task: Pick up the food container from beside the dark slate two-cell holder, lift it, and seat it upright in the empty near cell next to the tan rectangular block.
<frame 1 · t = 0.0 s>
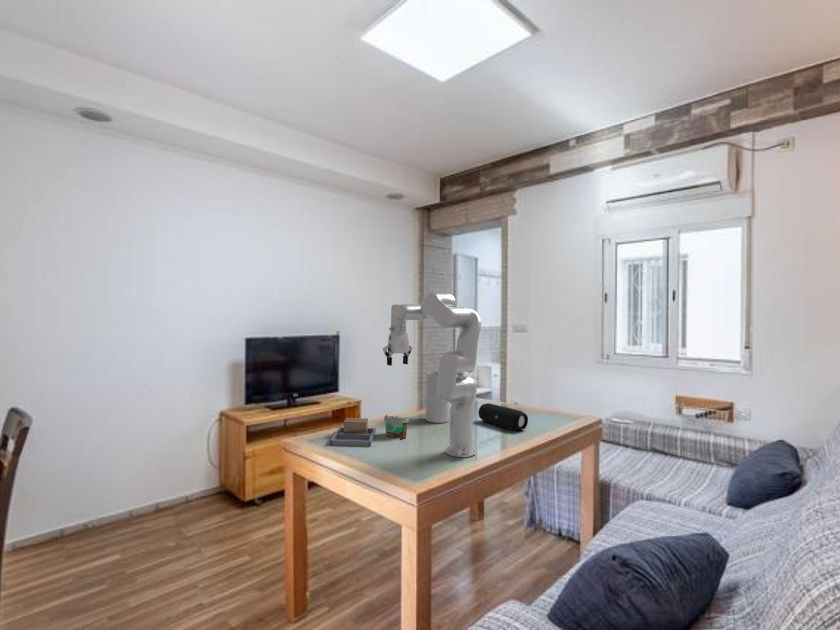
hand: (397, 364, 221), 31 cm above the table, tool pointing down, fingers open, 9 cm apart
tan rectangular block: (355, 435, 204), point 1 cm above the table, touching cell holder
cell holder: (353, 440, 199), on the table
portable speaker: (502, 426, 232), on the table
food container: (393, 439, 204), on the table
cylinder vase: (437, 420, 239), on the table
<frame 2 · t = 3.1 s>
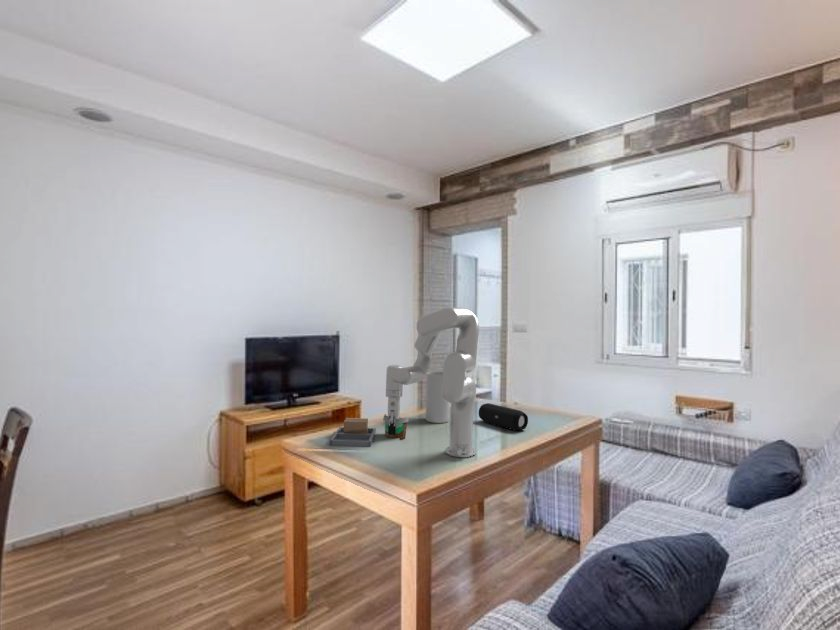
hand: (392, 431, 204), 3 cm above the table, tool pointing down, fingers closed on food container, 6 cm apart
food container: (392, 439, 204), on the table, touching gripper
everything else where it was.
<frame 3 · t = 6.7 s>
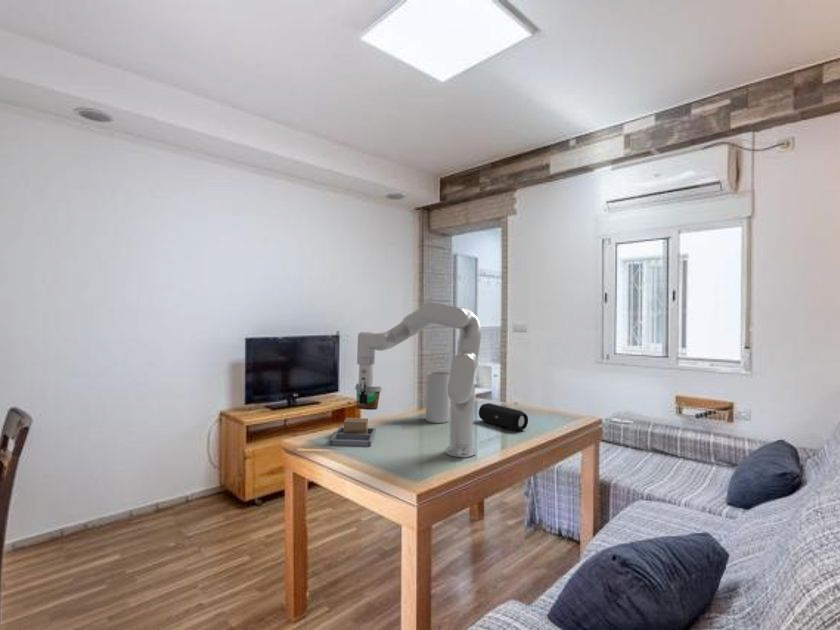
hand: (364, 401, 197), 18 cm above the table, tool pointing down, fingers closed on food container, 6 cm apart
food container: (364, 409, 196), point 15 cm above the table, touching gripper
everything else where it was.
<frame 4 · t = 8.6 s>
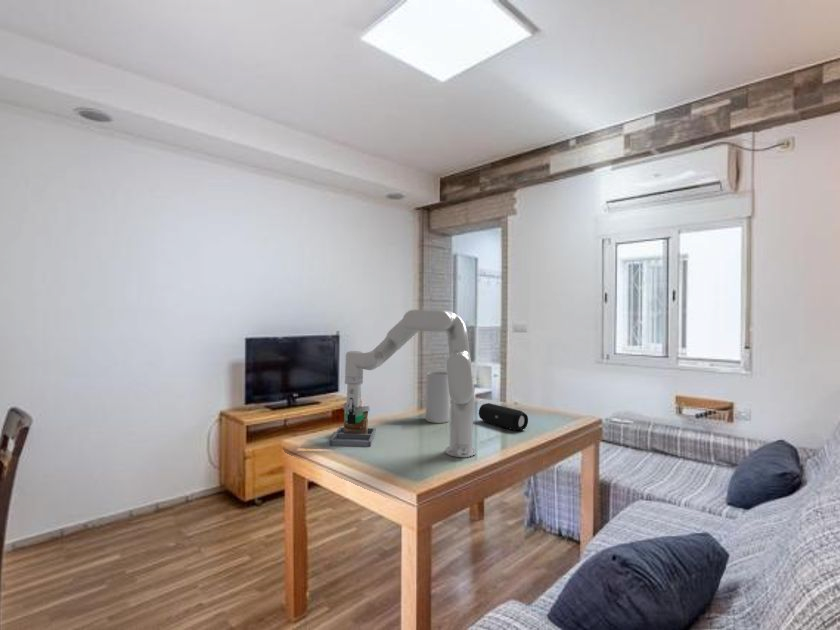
hand: (352, 421, 194), 10 cm above the table, tool pointing down, fingers closed on food container, 6 cm apart
food container: (352, 429, 193), point 7 cm above the table, touching gripper
everything else where it was.
when the fingers open (4 cm above the table, at t = 10.1 s): food container stays where it is, resting on cell holder.
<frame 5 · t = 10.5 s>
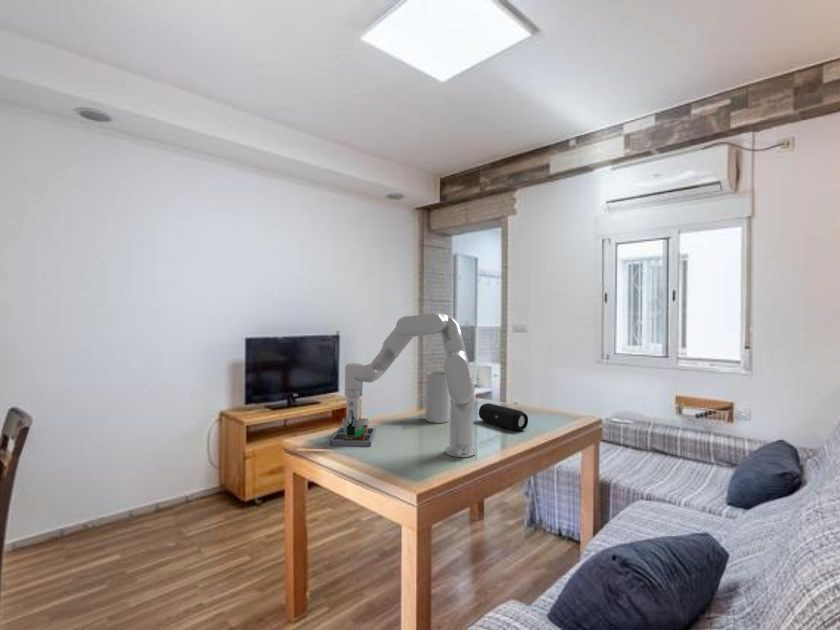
hand: (352, 432, 194), 5 cm above the table, tool pointing down, fingers open, 9 cm apart
food container: (352, 443, 193), point 1 cm above the table, touching cell holder, gripper
everything else where it was.
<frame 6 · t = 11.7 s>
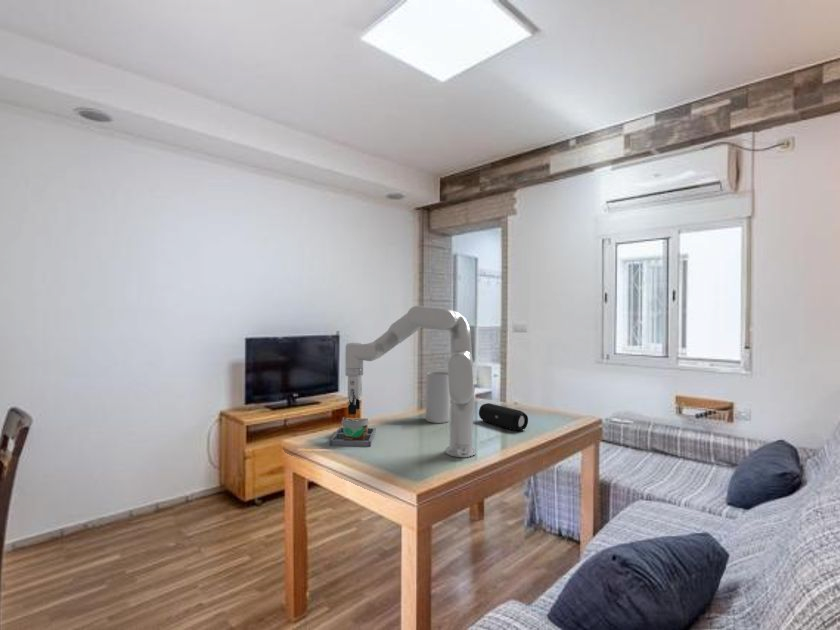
hand: (354, 411, 194), 14 cm above the table, tool pointing down, fingers open, 9 cm apart
food container: (352, 443, 193), point 1 cm above the table, touching cell holder
everything else where it was.
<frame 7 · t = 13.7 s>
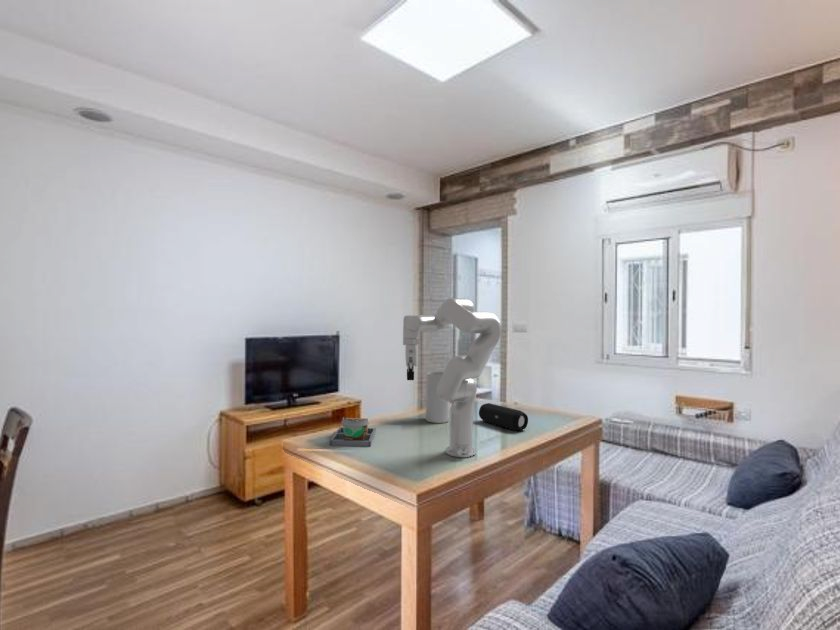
hand: (410, 378, 211), 26 cm above the table, tool pointing down, fingers open, 9 cm apart
nothing on the table moved.
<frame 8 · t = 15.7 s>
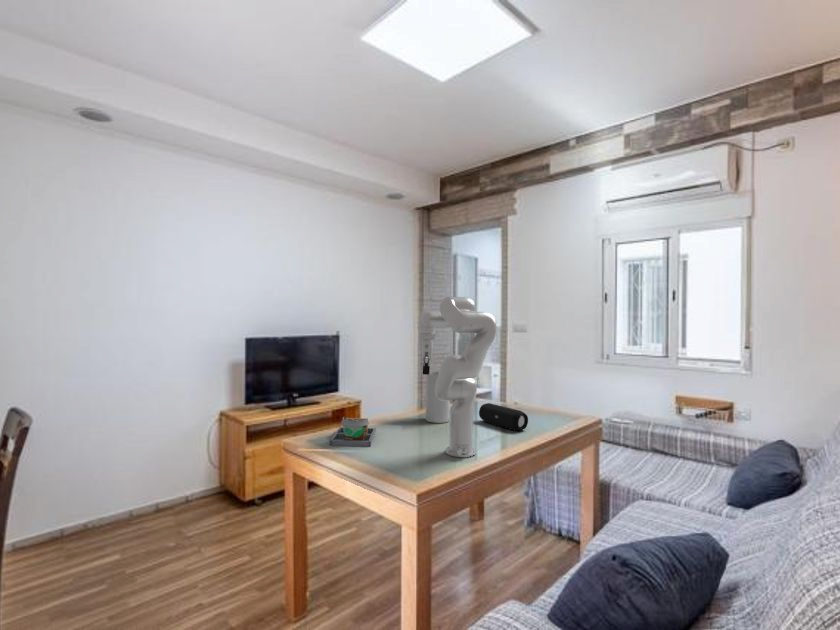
hand: (425, 372, 216), 28 cm above the table, tool pointing down, fingers open, 9 cm apart
nothing on the table moved.
at the end: food container 1.5 cm from the target spot on the cell holder, point 0.8 cm above the cell holder's base; food container tilted 0°; the gripper is holding nothing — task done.
